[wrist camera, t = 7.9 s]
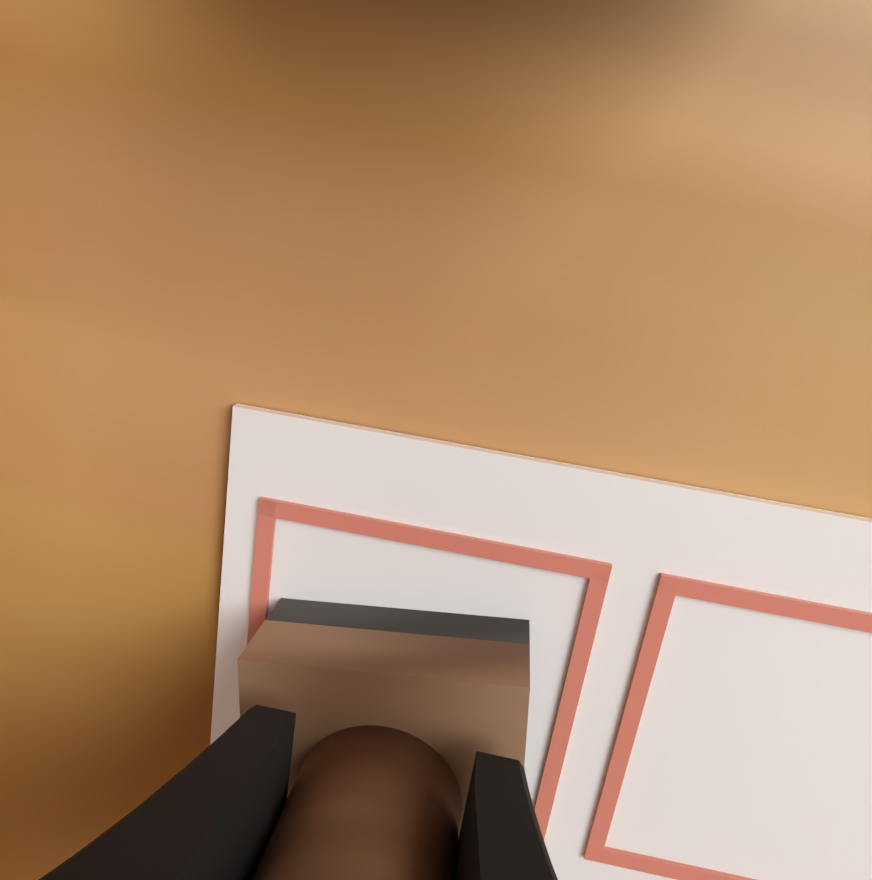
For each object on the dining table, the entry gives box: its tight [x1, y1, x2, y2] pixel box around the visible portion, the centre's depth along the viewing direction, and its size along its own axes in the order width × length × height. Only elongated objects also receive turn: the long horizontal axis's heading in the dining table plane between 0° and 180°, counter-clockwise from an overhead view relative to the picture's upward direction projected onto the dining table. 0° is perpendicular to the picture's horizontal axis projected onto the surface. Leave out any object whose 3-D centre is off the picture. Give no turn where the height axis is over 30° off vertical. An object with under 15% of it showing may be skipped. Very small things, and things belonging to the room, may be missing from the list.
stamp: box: [237, 598, 530, 880], centre depth 10 cm, size 4×4×6 cm
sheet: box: [210, 403, 872, 880], centre depth 13 cm, size 14×9×1 cm, turn 81°
